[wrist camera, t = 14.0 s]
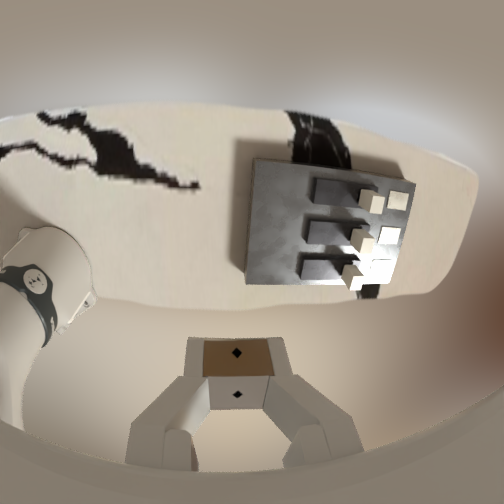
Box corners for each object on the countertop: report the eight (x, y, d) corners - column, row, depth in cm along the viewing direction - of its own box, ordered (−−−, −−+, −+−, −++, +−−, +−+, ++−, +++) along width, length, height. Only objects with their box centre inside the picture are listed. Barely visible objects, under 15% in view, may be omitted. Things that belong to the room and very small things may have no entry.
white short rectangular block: (341, 278, 38) (349, 290, 35) (344, 264, 37) (353, 276, 34) (351, 278, 38) (360, 289, 36) (355, 264, 37) (364, 276, 35)
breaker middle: (349, 243, 36) (359, 253, 33) (353, 228, 35) (363, 238, 32) (360, 244, 36) (371, 254, 33) (364, 229, 35) (375, 238, 32)
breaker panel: (244, 273, 41) (246, 288, 38) (253, 157, 34) (257, 161, 30) (380, 274, 44) (391, 286, 41) (405, 179, 37) (420, 185, 33)
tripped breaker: (358, 205, 33) (369, 212, 31) (361, 188, 32) (373, 195, 30) (369, 206, 34) (381, 214, 31) (372, 190, 33) (385, 197, 30)
